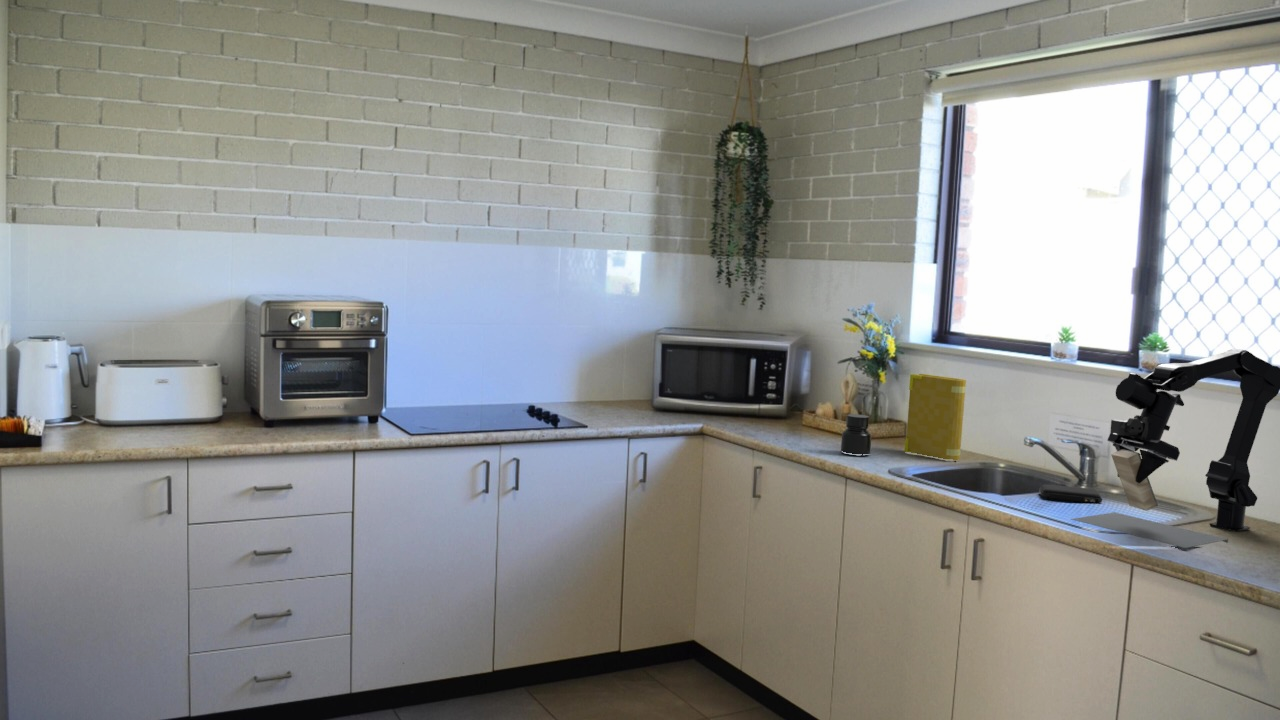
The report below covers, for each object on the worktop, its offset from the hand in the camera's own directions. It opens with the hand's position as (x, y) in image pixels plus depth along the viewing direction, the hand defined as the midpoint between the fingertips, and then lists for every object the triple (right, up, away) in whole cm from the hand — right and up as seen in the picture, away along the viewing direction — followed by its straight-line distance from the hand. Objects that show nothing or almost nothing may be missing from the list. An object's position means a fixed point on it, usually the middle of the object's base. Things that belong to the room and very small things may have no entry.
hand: (1128, 479), depth 239 cm
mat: (+4, -12, 0) cm, 12 cm away
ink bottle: (-45, -2, +84) cm, 95 cm away
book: (-20, -3, +86) cm, 89 cm away
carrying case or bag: (0, -9, +32) cm, 33 cm away
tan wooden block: (+4, -6, +1) cm, 7 cm away
